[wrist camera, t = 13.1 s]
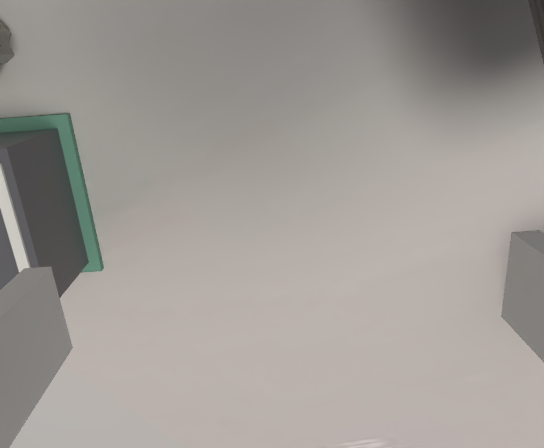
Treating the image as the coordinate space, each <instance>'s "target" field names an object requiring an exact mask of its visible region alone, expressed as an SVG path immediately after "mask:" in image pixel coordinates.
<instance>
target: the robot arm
mask: <svg viewBox="0 0 544 448" xmlns="http://www.w3.org/2000/svg"><path fill="white" fill-rule="evenodd" d="M529 3H530V7H531V11H532V16H533V20H534V24H535V28H536V33H537V37H538V41H539V46H540V50H541V54H542V58H543V63H544V0H529ZM501 316H502V317H503V319H504V320H505V321H506V322H507V323H508V324H509V325H510V326H511V327H512V328H513V329H514V331H515V332H516V333H517V334H518V335H519V336H520V337H521V338H522V339H523V340H524V341H525V342H526V344H527V345H528V346H529V347H530V348H531V349H532V350H533V351H534V352H535V353H536V354H537V356H538V357H539V358H540V359H541V360H542V361H543V362H544V234H543V233H542V232H540V231H539V230H538V231H525V232H512V234H511V242H510V250H509V259H508V267H507V275H506V283H505V291H504V299H503V307H502V315H501ZM72 348H73V347H72V344H71V340H70V336H69V332H68V329H67V325H66V321H65V317H64V313H63V310H62V306H61V302H60V298H59V295H58V291H57V287H56V283H55V279H54V276H53V272H52V268H51V266H50V267H36V268H24V269H23V270H22V271H21V272H20V273H19V274H17V275H16V276H15V277H14V278H13V279H12V280H11V281H10V282H9V283H8V284H7V285H5V286H4V287H3V288H2V289H1V290H0V448H9V447H10V445H11V444H12V442H13V441H14V439H15V438H16V436H17V434H18V433H19V431H20V430H21V428H22V427H23V425H24V423H25V422H26V420H27V419H28V417H29V416H30V414H31V412H32V411H33V409H34V408H35V406H36V404H37V403H38V401H39V400H40V398H41V397H42V395H43V393H44V392H45V390H46V389H47V387H48V386H49V384H50V383H51V381H52V379H53V378H54V376H55V375H56V373H57V372H58V370H59V368H60V367H61V365H62V364H63V362H64V361H65V359H66V357H67V356H68V354H69V353H70V351H71V350H72Z"/></svg>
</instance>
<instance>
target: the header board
mask: <svg viewBox="0 0 544 448" xmlns="http://www.w3.org/2000/svg"><path fill="white" fill-rule="evenodd" d="M57 128H58V132H59V136H60V140H61V145H62V149H63V153H64V158H65V162H66V166H67V171H68V175H69V179H70V184H71V188H72V192H73V196H74V201H75V205H76V209H77V214H78V218H79V222H80V227H81V231H82V235H83V240H84V244H85V248H86V253H87V257H88V261H89V263H88V264H87V265H86V266H85V268H84V269H83V270H82V271H81V272H94V271H102V270H103V268H104V267H103V262H102V258H101V253H100V249H99V244H98V240H97V235H96V231H95V226H94V222H93V217H92V212H91V208H90V203H89V199H88V194H87V190H86V185H85V181H84V176H83V172H82V167H81V163H80V158H79V153H78V149H77V144H76V140H75V135H74V131H73V126H72V122H71V117H70V113H69V114H55V115H41V116H28V117H14V118H1V119H0V133H3V132H16V131H30V130H43V129H57ZM81 272H80V273H81Z"/></svg>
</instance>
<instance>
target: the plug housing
mask: <svg viewBox="0 0 544 448" xmlns="http://www.w3.org/2000/svg"><path fill="white" fill-rule="evenodd" d="M88 263H89V261H88V257H87V253H86V248H85V244H84V240H83V235H82V231H81V227H80V222H79V218H78V214H77V209H76V205H75V201H74V196H73V192H72V188H71V184H70V179H69V175H68V171H67V166H66V162H65V158H64V153H63V149H62V145H61V140H60V136H59V132H58V128H57V129H43V130H30V131H16V132H3V133H0V290H1V289H2V288H3V287H4V286H5V285H7V284H8V283H9V282H10V281H11V280H12V279H13V278H14V277H15V276H16V275H17V274H19V273H20V272H21V271H22V270H23V269H24V268H36V267H50V266H51V268H52V272H53V276H54V279H55V283H56V287H57V291H58V295H59V298H60V297H61V296H62V294H63V293H64V292H65V291H66V290H67V288H68V287H69V286H70V285H71V283H72V282H73V281H74V280H75V279H76V277H77V276H78V275H79V274H80V272H81V271H82V270H83V269H84V268H85V266H86V265H87V264H88Z"/></svg>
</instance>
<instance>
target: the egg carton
mask: <svg viewBox="0 0 544 448" xmlns="http://www.w3.org/2000/svg"><path fill="white" fill-rule="evenodd" d="M10 36H11V32H10V30H9V28H8V27H7V26H6V25H5V24H4V23H3V22H1V21H0V63H7V62H8V61H9V60H10V59H11V58H12V57H13V56H14V53H13V51H12V49H11V47H10V43H9V40H10Z"/></svg>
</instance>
